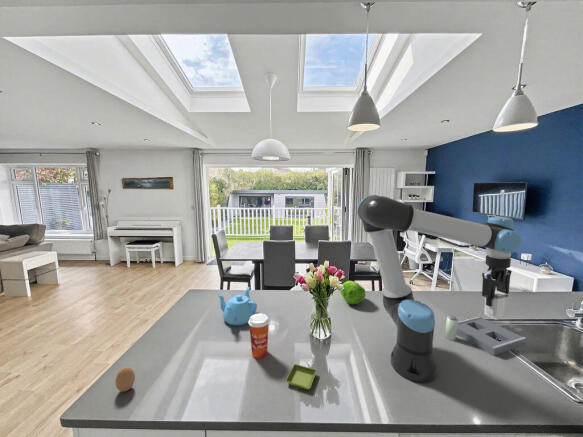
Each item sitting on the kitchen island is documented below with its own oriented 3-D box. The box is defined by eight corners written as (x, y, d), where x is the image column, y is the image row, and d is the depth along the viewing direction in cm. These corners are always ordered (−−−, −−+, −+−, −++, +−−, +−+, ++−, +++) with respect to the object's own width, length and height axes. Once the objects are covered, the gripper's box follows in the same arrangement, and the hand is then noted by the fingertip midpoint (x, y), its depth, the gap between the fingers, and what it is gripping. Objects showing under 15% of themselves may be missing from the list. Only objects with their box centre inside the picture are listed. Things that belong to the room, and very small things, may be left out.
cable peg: (451, 341, 104) (453, 320, 102) (443, 336, 107) (444, 316, 106) (458, 339, 105) (460, 319, 104) (449, 334, 109) (451, 314, 107)
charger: (496, 319, 95) (498, 295, 94) (484, 314, 99) (485, 291, 98) (504, 317, 96) (506, 293, 95) (491, 312, 100) (493, 289, 99)
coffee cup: (250, 362, 91) (249, 325, 89) (248, 348, 99) (247, 314, 97) (271, 358, 93) (271, 322, 91) (268, 345, 101) (267, 311, 99)
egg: (137, 389, 79) (136, 367, 78) (119, 399, 75) (116, 376, 74) (133, 380, 82) (131, 359, 81) (114, 390, 78) (112, 368, 77)
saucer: (294, 368, 88) (294, 363, 88) (317, 375, 85) (317, 369, 85) (285, 386, 80) (285, 380, 80) (310, 394, 77) (310, 388, 77)
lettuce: (359, 293, 152) (359, 274, 150) (367, 308, 132) (368, 288, 131) (337, 292, 153) (337, 274, 151) (342, 308, 133) (342, 287, 131)
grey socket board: (493, 355, 95) (494, 347, 94) (450, 330, 111) (450, 323, 111) (525, 345, 101) (526, 337, 101) (479, 322, 118) (480, 316, 118)
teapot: (216, 316, 124) (215, 293, 123) (249, 306, 135) (249, 285, 133) (227, 332, 110) (226, 307, 109) (263, 320, 120) (263, 297, 119)
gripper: (493, 261, 89) (489, 320, 91) (524, 256, 94) (519, 312, 97) (472, 256, 96) (469, 311, 98) (502, 251, 101) (498, 304, 104)
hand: (494, 311), depth 97 cm, fingers closed on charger, 4 cm apart
